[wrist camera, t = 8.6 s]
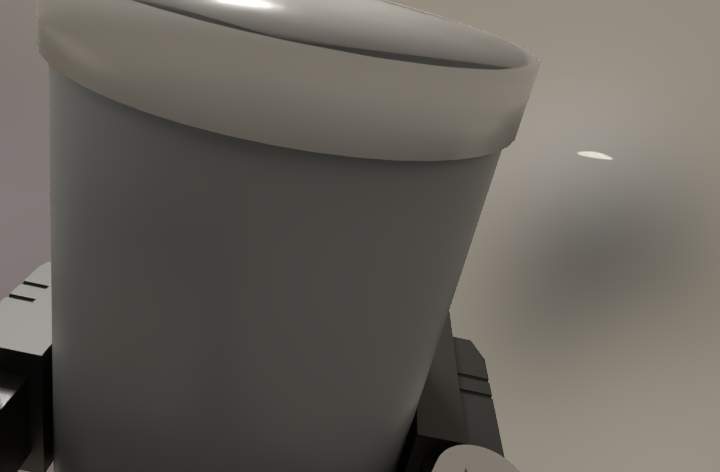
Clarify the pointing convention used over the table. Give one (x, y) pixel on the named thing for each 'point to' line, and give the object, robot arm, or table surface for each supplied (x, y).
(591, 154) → the table surface
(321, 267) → the domed lid canister
